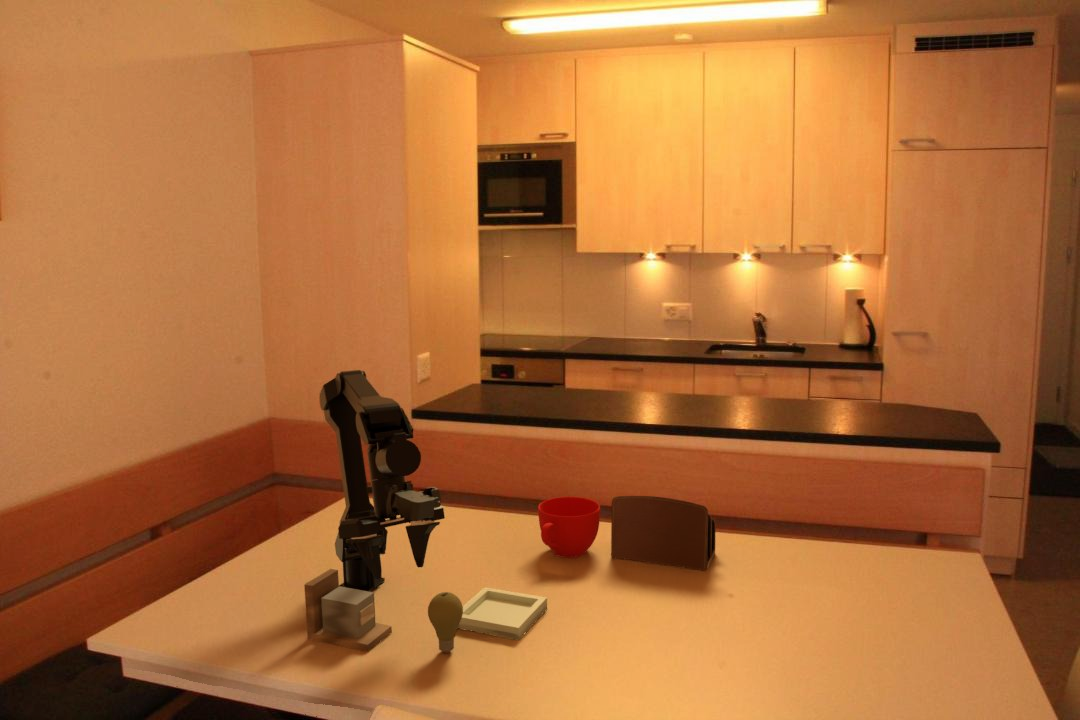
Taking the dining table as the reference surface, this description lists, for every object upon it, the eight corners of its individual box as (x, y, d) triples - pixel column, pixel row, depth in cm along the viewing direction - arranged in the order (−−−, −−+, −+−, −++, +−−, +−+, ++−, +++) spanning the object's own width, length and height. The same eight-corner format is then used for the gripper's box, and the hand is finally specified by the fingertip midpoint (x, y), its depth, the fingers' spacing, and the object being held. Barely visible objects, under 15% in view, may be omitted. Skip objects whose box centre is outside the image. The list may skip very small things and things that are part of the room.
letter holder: (706, 572, 166) (707, 503, 164) (610, 559, 173) (610, 493, 171) (715, 554, 175) (716, 488, 173) (623, 542, 182) (623, 479, 180)
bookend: (307, 638, 141) (304, 584, 139) (333, 620, 147) (330, 568, 146) (368, 651, 136) (365, 595, 135) (391, 632, 142) (389, 578, 141)
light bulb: (458, 662, 132) (456, 602, 131) (424, 659, 133) (422, 599, 132) (468, 645, 138) (466, 587, 136) (435, 642, 139) (433, 585, 137)
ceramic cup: (516, 562, 172) (515, 515, 170) (558, 536, 186) (558, 493, 184) (571, 575, 165) (571, 526, 163) (611, 547, 179) (611, 502, 177)
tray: (452, 627, 144) (452, 615, 143) (485, 598, 155) (484, 587, 155) (518, 640, 139) (518, 627, 139) (547, 609, 150) (547, 597, 150)
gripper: (377, 480, 127) (390, 584, 126) (461, 467, 142) (474, 560, 141) (330, 486, 134) (342, 585, 133) (416, 473, 149) (427, 562, 147)
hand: (400, 572), depth 138 cm, fingers open, 9 cm apart
